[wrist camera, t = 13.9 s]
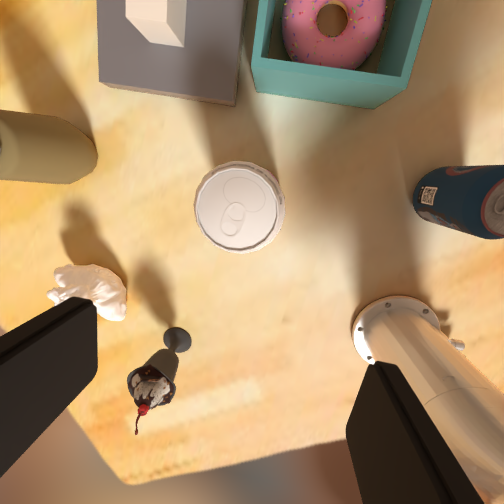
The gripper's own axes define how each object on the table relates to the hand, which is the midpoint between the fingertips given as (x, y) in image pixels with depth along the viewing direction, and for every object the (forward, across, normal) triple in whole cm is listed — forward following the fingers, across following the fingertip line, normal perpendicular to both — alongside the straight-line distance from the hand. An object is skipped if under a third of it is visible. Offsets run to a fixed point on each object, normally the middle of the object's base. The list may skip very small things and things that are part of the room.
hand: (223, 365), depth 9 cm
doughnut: (+29, -3, -23) cm, 37 cm away
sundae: (+29, +11, +23) cm, 39 cm away
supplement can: (+29, +3, -3) cm, 29 cm away
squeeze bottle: (+28, +28, -5) cm, 40 cm away
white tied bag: (+29, +24, +14) cm, 40 cm away
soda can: (+30, -21, -8) cm, 37 cm away
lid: (+28, +15, -22) cm, 39 cm away
